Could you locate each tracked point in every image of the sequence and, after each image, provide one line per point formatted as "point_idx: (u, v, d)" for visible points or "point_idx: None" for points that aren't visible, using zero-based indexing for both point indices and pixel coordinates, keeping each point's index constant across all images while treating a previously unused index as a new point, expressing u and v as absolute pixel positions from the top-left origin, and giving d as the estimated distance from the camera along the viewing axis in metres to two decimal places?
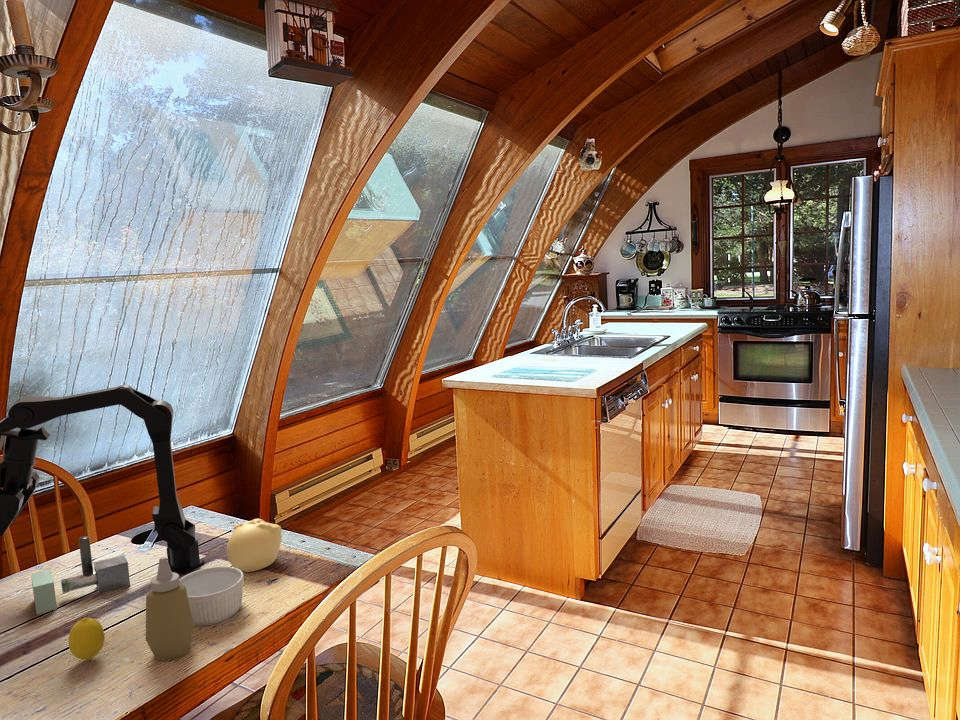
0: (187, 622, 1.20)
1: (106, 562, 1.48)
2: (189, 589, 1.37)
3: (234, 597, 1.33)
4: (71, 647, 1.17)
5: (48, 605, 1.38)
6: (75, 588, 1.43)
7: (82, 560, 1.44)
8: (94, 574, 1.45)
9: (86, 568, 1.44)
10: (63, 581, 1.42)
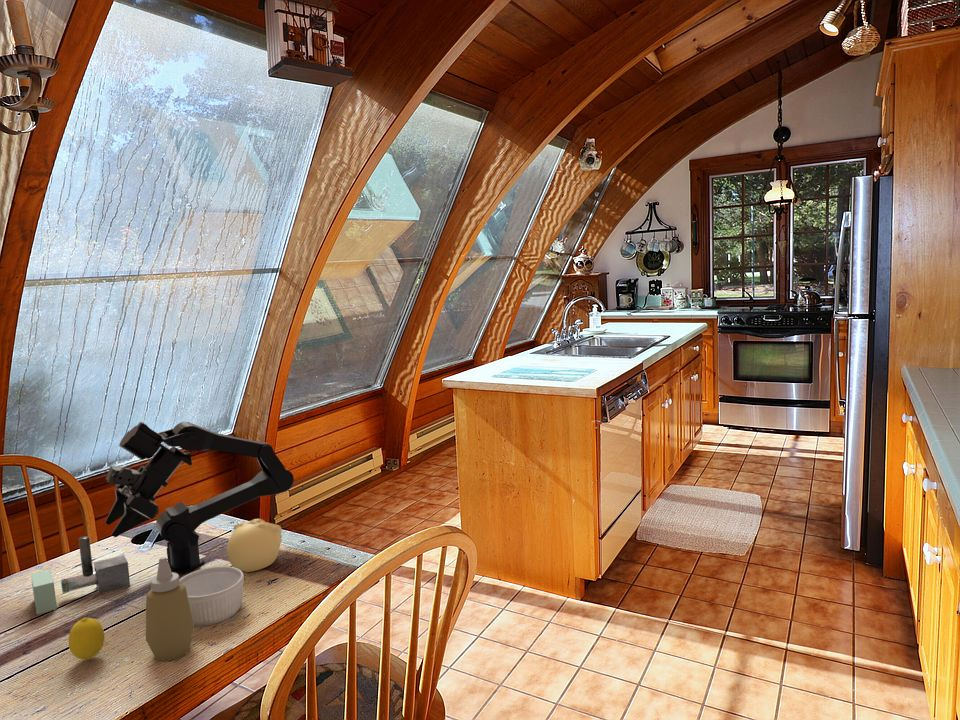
0: (187, 622, 1.20)
1: (106, 562, 1.48)
2: (189, 589, 1.37)
3: (234, 597, 1.33)
4: (71, 647, 1.17)
5: (48, 605, 1.38)
6: (75, 588, 1.43)
7: (82, 560, 1.44)
8: (94, 574, 1.45)
9: (86, 568, 1.44)
10: (63, 581, 1.42)
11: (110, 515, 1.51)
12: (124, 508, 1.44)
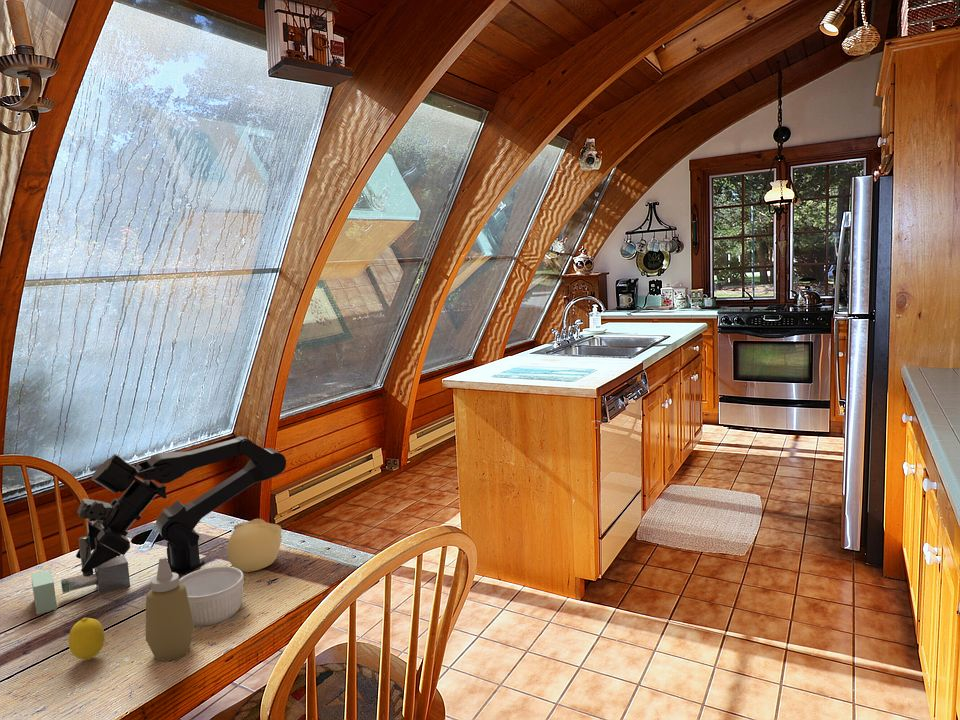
0: (187, 622, 1.20)
1: (106, 562, 1.48)
2: (189, 589, 1.37)
3: (234, 597, 1.33)
4: (71, 647, 1.17)
5: (48, 605, 1.38)
6: (75, 588, 1.43)
7: (82, 560, 1.44)
8: (94, 574, 1.45)
9: None
10: (63, 581, 1.42)
11: None
12: (95, 543, 1.41)
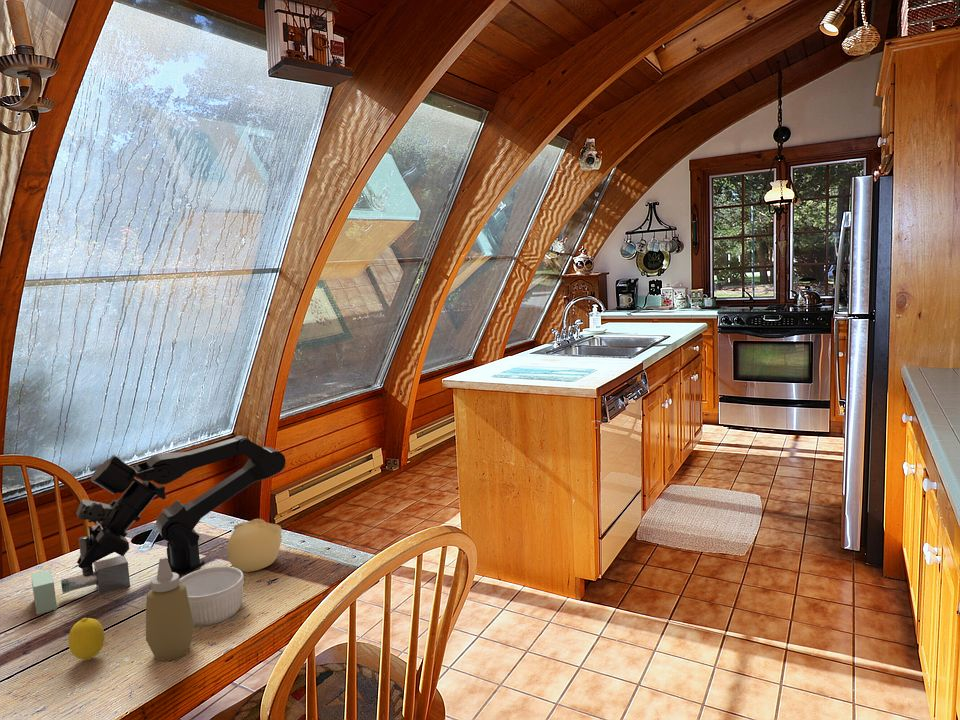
0: (187, 622, 1.20)
1: (106, 562, 1.48)
2: (189, 589, 1.37)
3: (234, 597, 1.33)
4: (71, 647, 1.17)
5: (48, 605, 1.38)
6: (75, 588, 1.43)
7: None
8: (94, 574, 1.45)
9: (86, 568, 1.44)
10: (63, 581, 1.42)
11: None
12: (92, 539, 1.43)
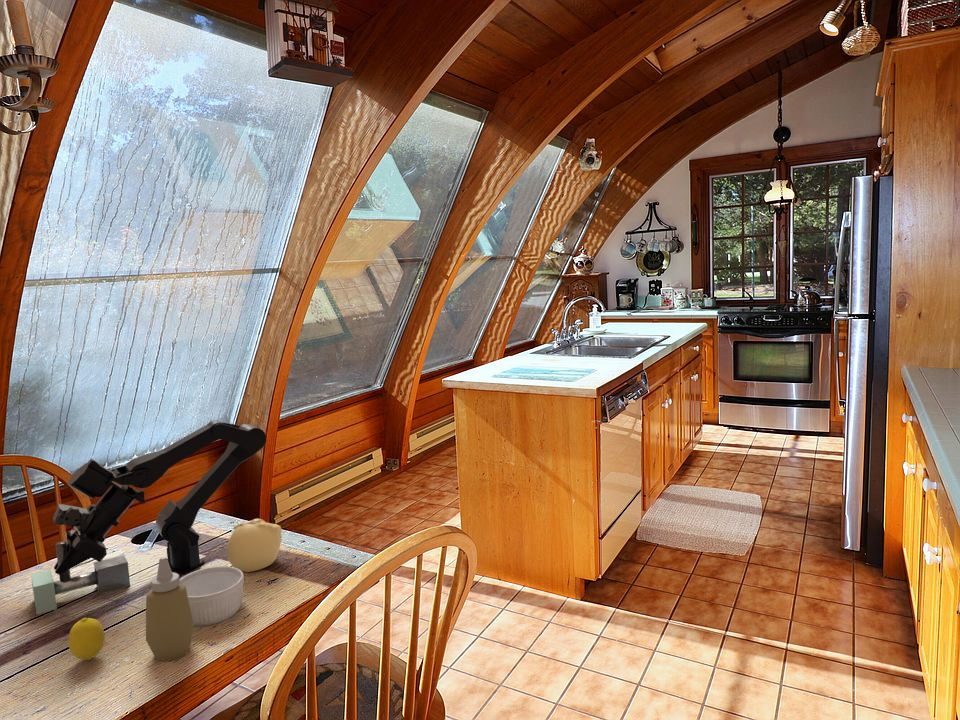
0: (187, 622, 1.20)
1: (106, 562, 1.48)
2: (189, 589, 1.37)
3: (234, 597, 1.33)
4: (71, 647, 1.17)
5: (48, 605, 1.38)
6: None
7: None
8: (72, 580, 1.43)
9: (63, 574, 1.41)
10: None
11: None
12: None
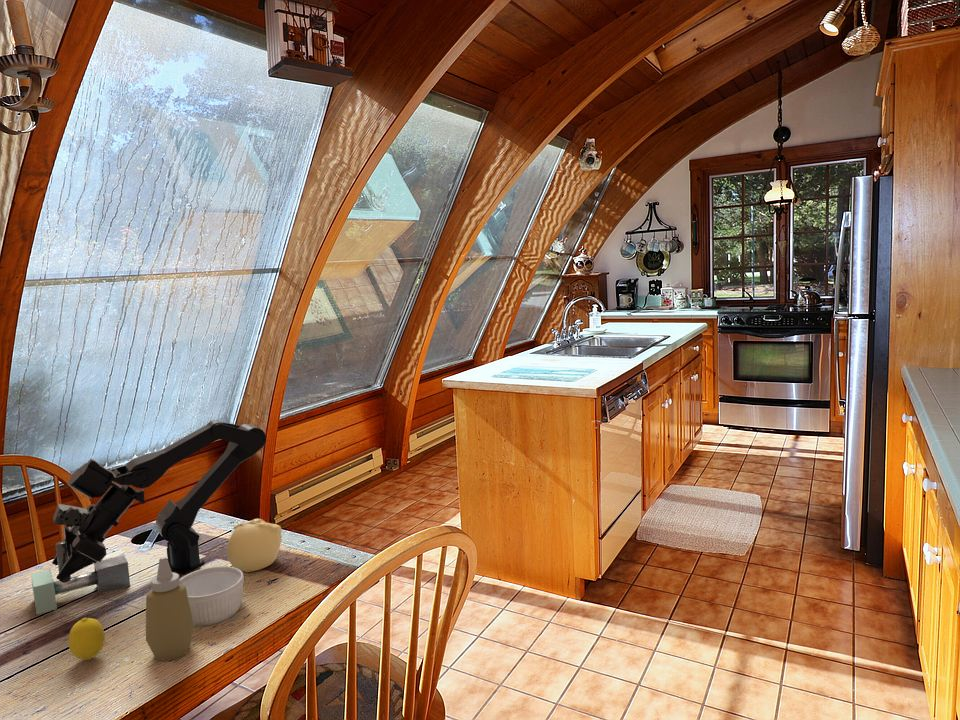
0: (187, 622, 1.20)
1: (106, 562, 1.48)
2: (189, 589, 1.37)
3: (234, 597, 1.33)
4: (71, 647, 1.17)
5: (48, 605, 1.38)
6: None
7: (59, 566, 1.41)
8: (72, 580, 1.43)
9: None
10: None
11: None
12: (70, 550, 1.38)
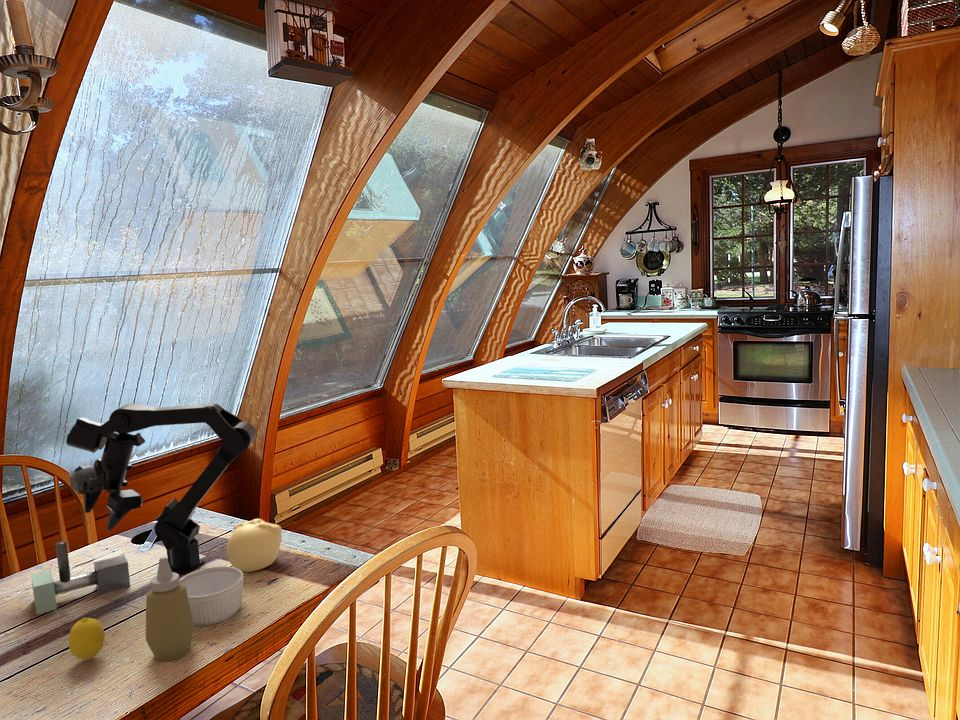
0: (187, 622, 1.20)
1: (106, 562, 1.48)
2: (189, 589, 1.37)
3: (234, 597, 1.33)
4: (71, 647, 1.17)
5: (48, 605, 1.38)
6: None
7: (59, 566, 1.41)
8: (72, 580, 1.43)
9: (63, 574, 1.41)
10: None
11: (87, 505, 1.55)
12: None
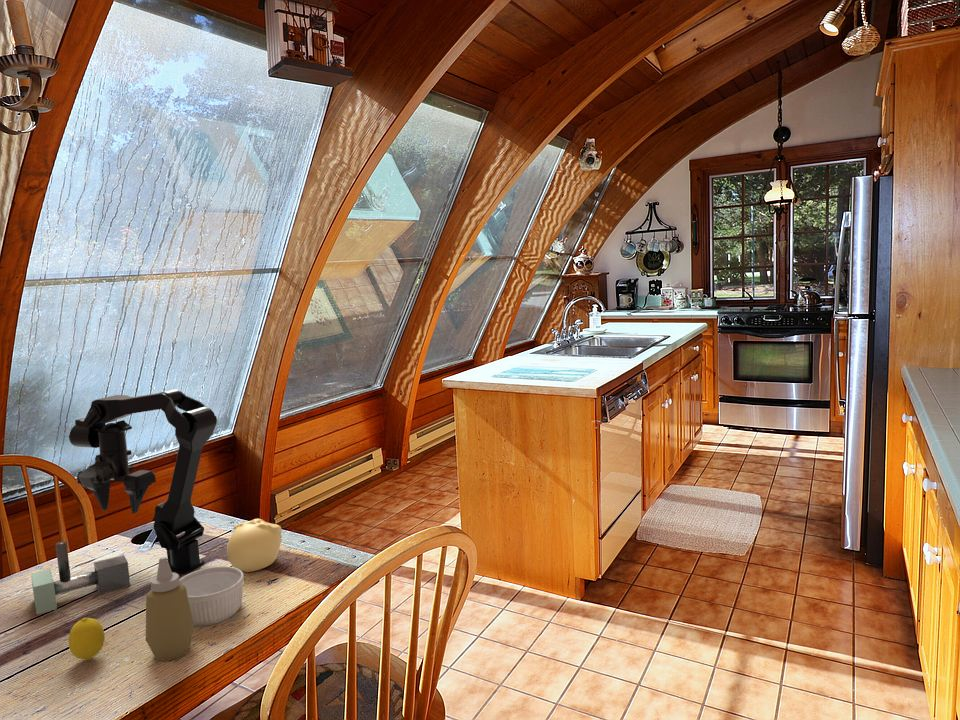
0: (187, 622, 1.20)
1: (106, 562, 1.48)
2: (189, 589, 1.37)
3: (234, 597, 1.33)
4: (71, 647, 1.17)
5: (48, 605, 1.38)
6: None
7: (59, 566, 1.41)
8: (72, 580, 1.43)
9: (63, 574, 1.41)
10: None
11: (102, 503, 1.62)
12: (127, 492, 1.57)
